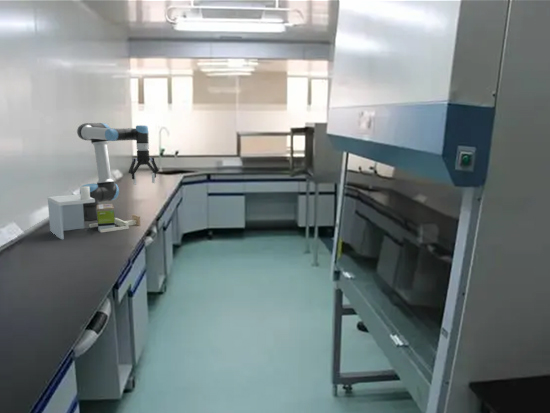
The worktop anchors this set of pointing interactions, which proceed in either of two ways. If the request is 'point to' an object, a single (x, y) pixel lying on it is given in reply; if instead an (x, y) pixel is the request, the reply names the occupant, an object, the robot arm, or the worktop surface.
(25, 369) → the worktop surface
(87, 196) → the white rounded capsule
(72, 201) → the panel
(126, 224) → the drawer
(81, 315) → the worktop surface
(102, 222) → the tea box
